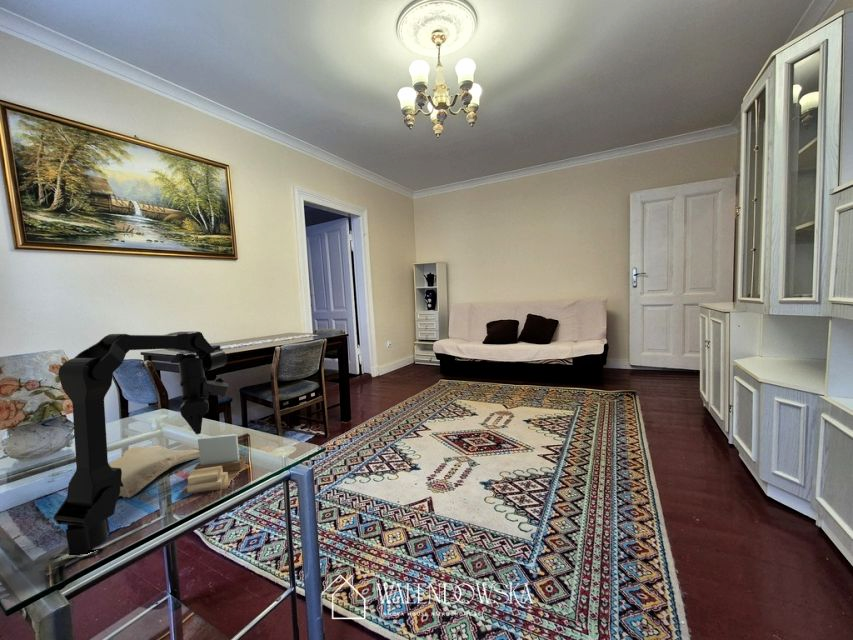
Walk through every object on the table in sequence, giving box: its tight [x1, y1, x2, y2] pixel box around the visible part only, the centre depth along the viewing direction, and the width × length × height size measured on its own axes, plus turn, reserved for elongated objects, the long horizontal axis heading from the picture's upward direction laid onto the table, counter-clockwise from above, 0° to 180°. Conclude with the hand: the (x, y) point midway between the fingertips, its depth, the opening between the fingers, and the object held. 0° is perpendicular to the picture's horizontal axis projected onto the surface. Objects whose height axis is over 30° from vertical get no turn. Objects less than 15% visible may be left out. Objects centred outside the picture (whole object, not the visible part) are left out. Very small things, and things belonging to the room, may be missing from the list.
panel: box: [197, 433, 240, 465], centre depth 102 cm, size 1×10×10 cm, turn 100°
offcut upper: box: [187, 466, 223, 486], centre depth 94 cm, size 4×7×2 cm, turn 105°
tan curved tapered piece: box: [108, 445, 200, 499], centre depth 103 cm, size 24×8×20 cm
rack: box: [179, 455, 247, 495], centre depth 98 cm, size 14×12×4 cm
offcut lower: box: [186, 472, 228, 494], centre depth 94 cm, size 5×8×2 cm, turn 100°
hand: (198, 428), depth 101 cm, fingers open, 9 cm apart
